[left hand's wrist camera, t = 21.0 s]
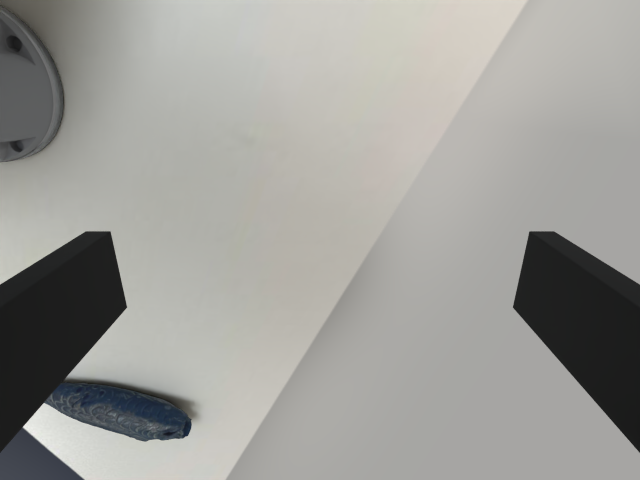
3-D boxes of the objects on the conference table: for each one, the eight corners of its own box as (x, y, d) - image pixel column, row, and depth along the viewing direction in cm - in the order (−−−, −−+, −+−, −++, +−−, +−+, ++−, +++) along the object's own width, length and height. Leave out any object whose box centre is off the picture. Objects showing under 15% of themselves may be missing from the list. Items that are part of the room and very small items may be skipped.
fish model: (193, 430, 56) (182, 462, 51) (45, 405, 54) (19, 435, 50) (198, 395, 53) (186, 424, 49) (44, 368, 52) (16, 395, 47)
